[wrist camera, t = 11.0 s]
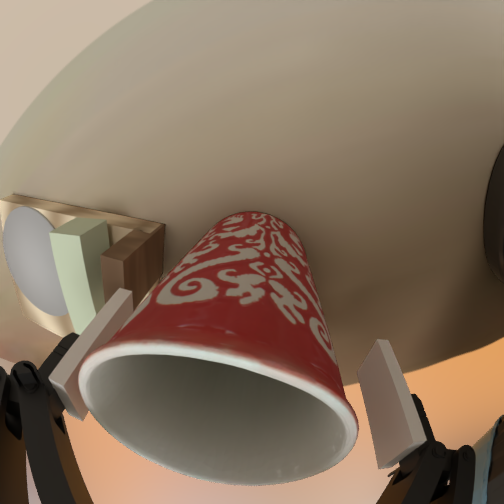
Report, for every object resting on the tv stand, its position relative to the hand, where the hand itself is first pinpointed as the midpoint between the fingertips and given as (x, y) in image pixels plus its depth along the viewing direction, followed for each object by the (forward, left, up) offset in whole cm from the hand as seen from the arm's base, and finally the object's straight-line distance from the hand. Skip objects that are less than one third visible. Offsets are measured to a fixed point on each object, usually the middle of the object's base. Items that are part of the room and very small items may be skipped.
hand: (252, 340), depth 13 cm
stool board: (+17, +5, -7) cm, 18 cm away
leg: (+11, +4, -4) cm, 13 cm away
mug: (0, 0, -7) cm, 7 cm away
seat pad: (+20, +3, -5) cm, 21 cm away
